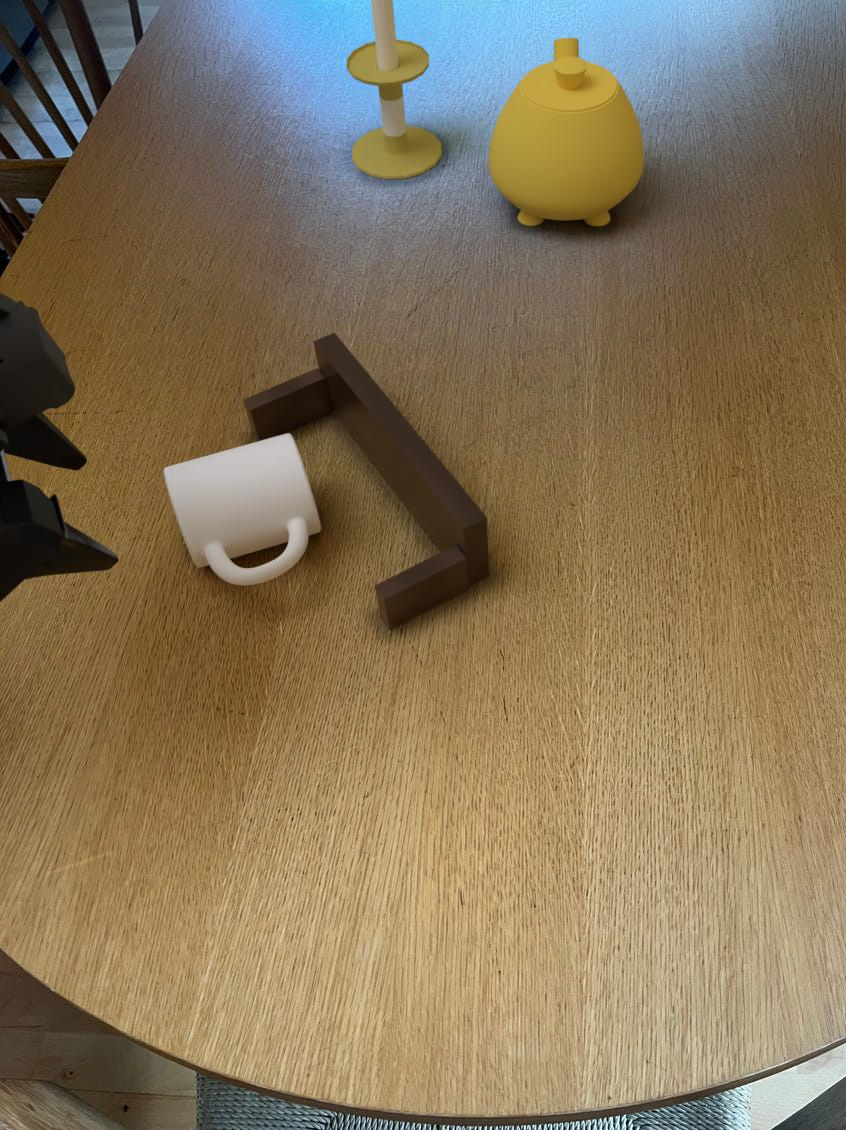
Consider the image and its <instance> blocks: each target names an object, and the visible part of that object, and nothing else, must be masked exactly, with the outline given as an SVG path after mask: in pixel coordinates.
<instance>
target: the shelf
mask: <svg viewBox="0 0 846 1130" xmlns="http://www.w3.org/2000/svg"><path fill="white" fill-rule="evenodd" d="M313 346H314V353H315V357H316V362H317V366H318V367H317V368H314V369H312V370H309V371H307V372H304V373H302V374H300V375H298V376H295V377H293V378H290V379H288V380H286V381H284V382H281V383H278V384H277V385H274V386H272V387H269V388H267V389H264V390H262V391H260V392H258V393H255V394H253V395H251V396H248V397H246V398H244V399H242V401H243V405H244V407H245V412H246V414H247V418H248V422H249V424H250V428H251V431H252V435H253V436H254V438H255V439H256V440H257V442H258V441H262V440H265V439H269V438H272V437H276V436H280V435H283V434H287V433H288V432H290V431H293V430H295V429H298V428H300V427H302V426H304V425H306V424H309V423H311V422H314V421H315V420H317V419H320V418H322V417H325V416H328V415H329V414H332V413H333V415H334V416H335V418H336V419H337V420H338V421H339V422H340V424H341V426H343V428H344V429H345V431H346V432H347V433H348V434H349V436H350V438H352V439H353V441H354V442H355V443H356V445H357V446H358V447H359V449H360V450H361V451H362V452H363V454H364V455H365V456H366V458H367V459H368V460H369V462H371V464H372V466H374V468H375V469H376V471H377V472H378V473H379V475H380V476H381V477H382V478H383V480H384V482H386V484H387V485H388V486H389V487H390V489H391V490H392V492H393V493H394V494H395V495H396V497H397V498H398V500H400V502H401V503H402V504H403V506H404V508H405V509H406V510H407V511H408V512H409V513H410V514H411V516H412V518H413V519H414V520H415V521H416V522H417V524H418V525H419V527H420V528H421V529H422V530H423V531H424V533H425V534H426V536H427V537H428V538H429V539H430V540H431V542H432V543H433V545H434V546H435V547H436V548H437V550H438V551H439V553H436V554H435V555H432V556H431V557H429V558H427V559H425V560H423V561H421V562H418V563H417V564H415V565H413V566H411V567H409V568H407V569H405V570H403V571H401V572H399V573H397V574H395V575H393V576H390V577H389V578H387V579H385V580H383V581H381V582H379V583H377V584H375V585H374V590H375V595H376V601H377V605H378V610H379V616H380V619H381V620H382V622H383V623H384V624H385V625H386V627H387V628H388V630H389V631H391V630H392V629H395V628H397V627H398V626H401V625H402V624H404V623H406V622H408V621H410V620H412V619H414V618H416V617H418V616H420V615H421V614H424V613H425V612H427V611H429V610H431V609H433V608H435V607H437V606H439V605H441V604H443V603H445V602H447V601H449V600H451V599H453V598H455V597H457V596H458V595H461V594H463V593H464V592H466V591H469V588H470V587H471V586H472V585H475V584H476V583H478V582H480V581H482V580H484V579H486V578H488V577H490V566H489V562H490V561H489V537H488V536H489V535H488V533H489V531H488V530H489V529H488V517H487V515H486V514H485V513H484V511H482V509H481V508H480V507H479V506H478V504H477V503H476V502H475V501H474V499H473V498H472V497H471V495H469V494H468V493H467V491H466V490H465V489H464V488H463V486H462V485H461V484H460V483H459V481H458V480H457V478H455V476H453V474H452V472H450V470H449V469H448V468H447V467H446V465H444V463H443V462H442V461H441V460H440V458H439V457H438V456H437V454H435V453H434V451H433V450H432V449H431V447H430V446H429V445H428V444H427V443H426V441H425V440H424V439H423V438H422V437H421V435H420V434H419V433H418V432H417V430H416V429H415V428H414V427H413V426H412V425H411V423H410V422H409V421H408V420H407V419H406V417H405V416H404V415H403V414H402V413H401V411H400V410H399V409H398V407H397V406H396V405H395V404H394V402H393V401H392V400H391V399H390V398H389V397H388V395H387V394H386V393H385V392H384V391H383V389H382V388H381V387H380V386H379V385H378V383H377V382H376V381H375V380H374V378H373V377H372V376H371V375H370V374H369V372H368V371H367V370H366V369H365V368H364V366H363V365H362V364H361V363H360V362H359V360H358V359H357V357H356V356H354V354H353V353H352V352H351V351H350V350H349V348H348V347H347V345H346V344H345V343H344V342H343V341H342V340H341V338H340V337H339V336H338V334H336V333H335V332H332V333H330V334H327V335H325V336H322V337H320V338H318V339H315V340H313Z"/></svg>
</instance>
